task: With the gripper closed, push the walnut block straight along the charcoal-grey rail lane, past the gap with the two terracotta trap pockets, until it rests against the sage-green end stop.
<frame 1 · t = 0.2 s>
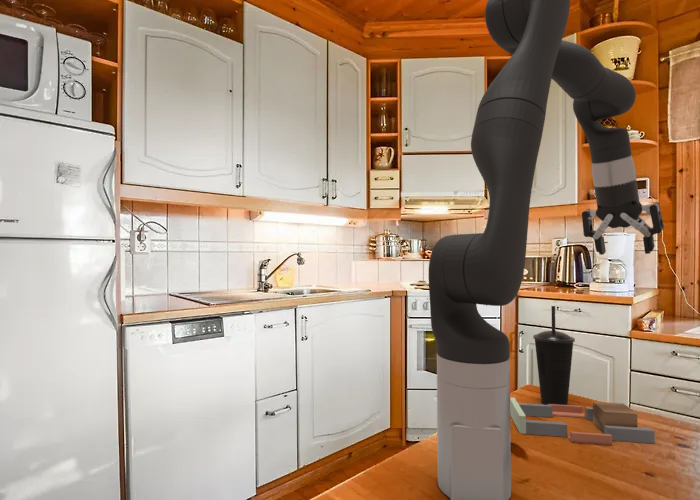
hand: (624, 253, 89), 31 cm above the table, tool tilted 20°, fingers open, 8 cm apart
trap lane: (576, 426, 72), on the table
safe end: (517, 422, 74), on the table
walnut block: (614, 430, 71), on the table
drinking cup: (554, 404, 84), on the table
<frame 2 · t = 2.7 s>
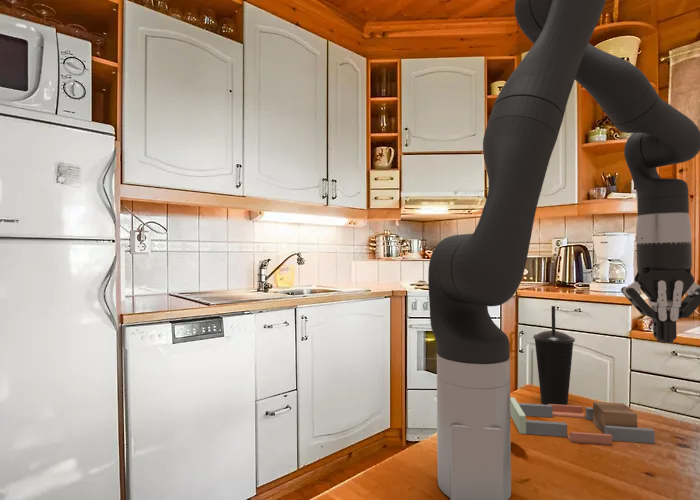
hand: (665, 342, 70), 15 cm above the table, tool pointing down, fingers closed
nothing on the table moved.
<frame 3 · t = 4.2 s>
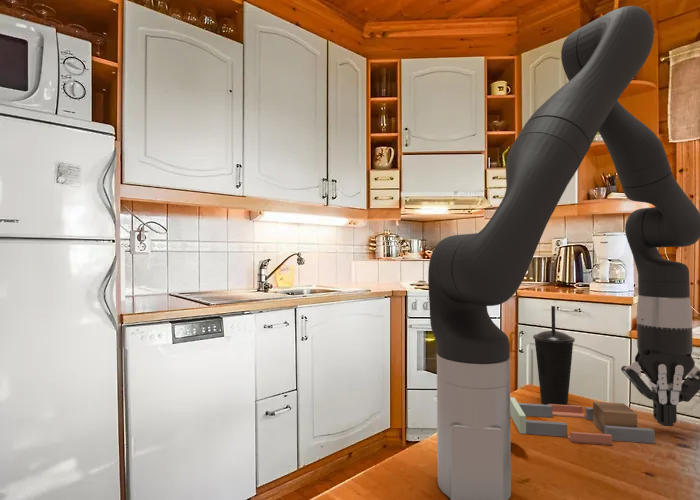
hand: (665, 424, 70), 1 cm above the table, tool pointing down, fingers closed
nothing on the table moved.
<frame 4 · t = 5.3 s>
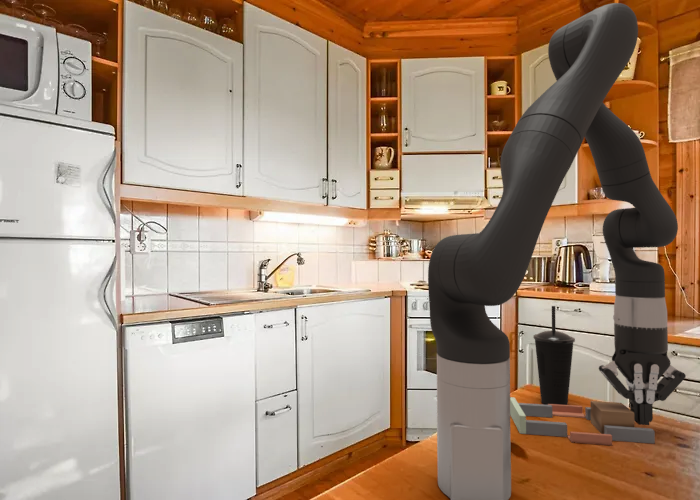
hand: (641, 423, 70), 1 cm above the table, tool pointing down, fingers closed
walnut block: (611, 429, 71), on the table, touching gripper
everything else where it was.
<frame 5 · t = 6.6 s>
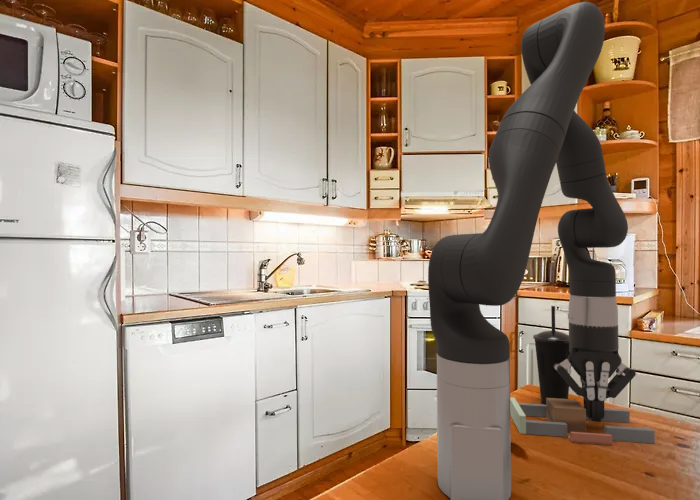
hand: (594, 419, 72), 1 cm above the table, tool pointing down, fingers closed
walnut block: (565, 426, 73), on the table, touching gripper
everything else where it was.
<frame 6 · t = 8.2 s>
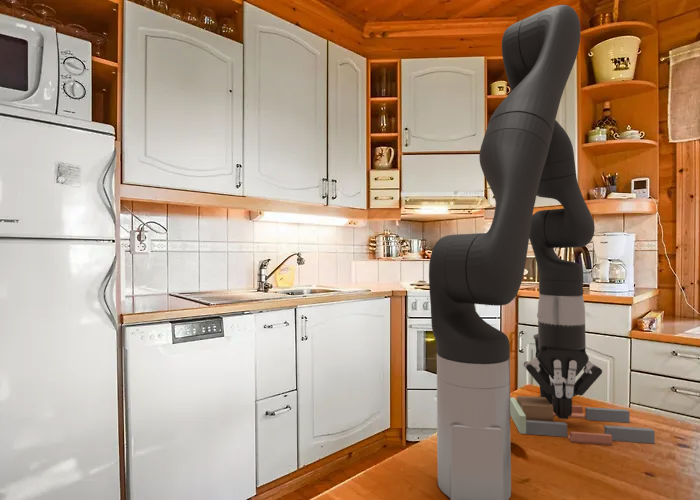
hand: (562, 417, 73), 2 cm above the table, tool pointing down, fingers closed
walnut block: (534, 423, 74), on the table, touching gripper
everything else where it was.
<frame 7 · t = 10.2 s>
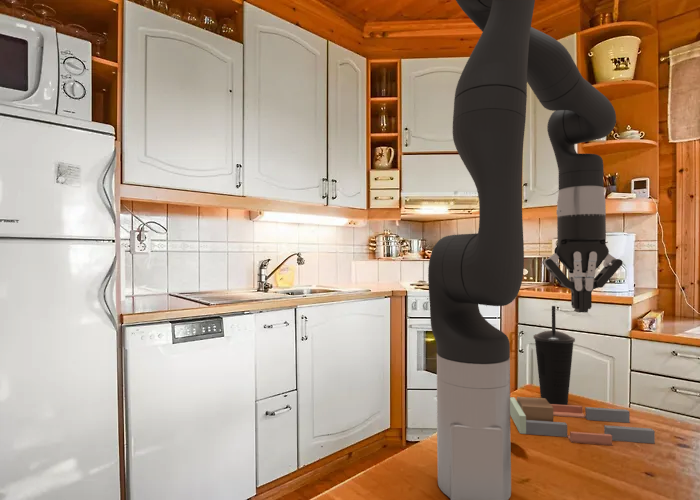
hand: (581, 311, 72), 20 cm above the table, tool pointing down, fingers closed
walnut block: (534, 424, 74), on the table
everything else where it was.
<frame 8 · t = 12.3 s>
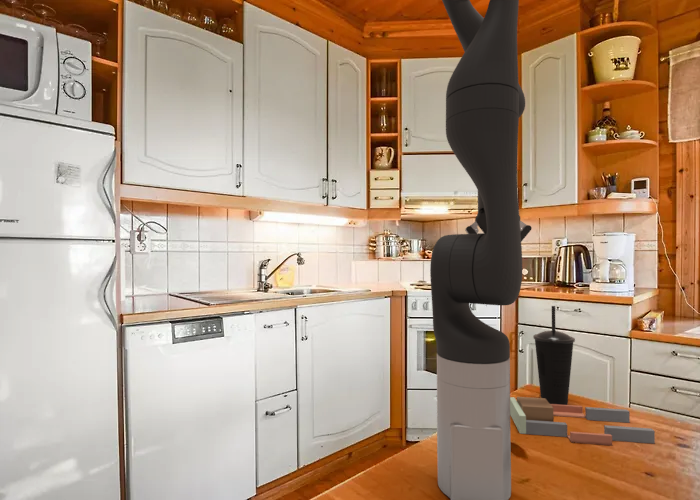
hand: (497, 272, 82), 27 cm above the table, tool pointing down, fingers closed
nothing on the table moved.
at the end: walnut block 0.8 cm from the target spot, on the table; walnut block tilted 0° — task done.
